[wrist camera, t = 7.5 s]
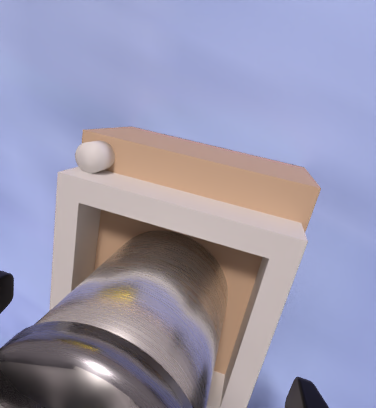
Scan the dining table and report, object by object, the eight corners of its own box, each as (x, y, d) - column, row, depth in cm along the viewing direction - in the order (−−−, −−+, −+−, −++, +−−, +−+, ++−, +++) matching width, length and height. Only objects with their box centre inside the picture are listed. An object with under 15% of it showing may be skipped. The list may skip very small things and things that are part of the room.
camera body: (243, 348, 16) (233, 459, 11) (107, 301, 17) (41, 379, 12) (304, 167, 13) (331, 201, 7) (131, 126, 14) (54, 131, 9)
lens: (246, 250, 10) (222, 420, 4) (213, 358, 12) (165, 585, 6) (116, 212, 11) (-44, 314, 5) (102, 317, 12) (-32, 483, 7)
